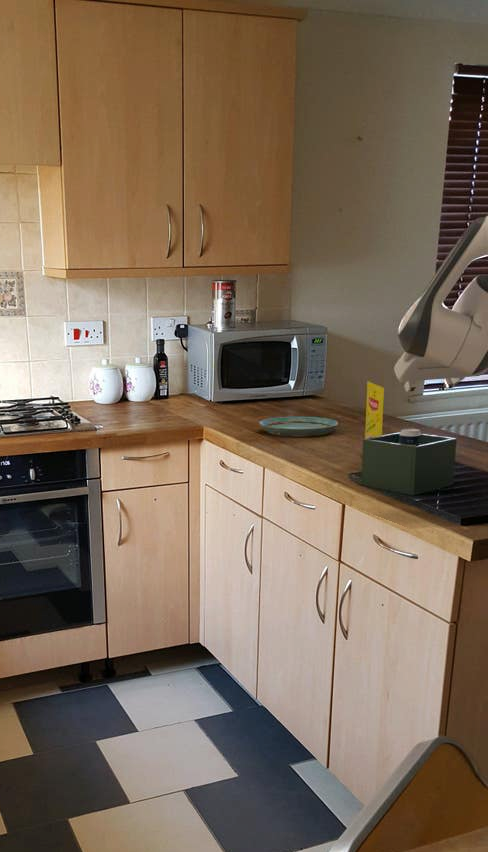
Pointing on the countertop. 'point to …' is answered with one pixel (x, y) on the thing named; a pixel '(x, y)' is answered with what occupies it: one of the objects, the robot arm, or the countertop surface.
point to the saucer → (298, 426)
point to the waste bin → (408, 463)
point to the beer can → (410, 437)
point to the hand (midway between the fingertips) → (428, 387)
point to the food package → (374, 410)
